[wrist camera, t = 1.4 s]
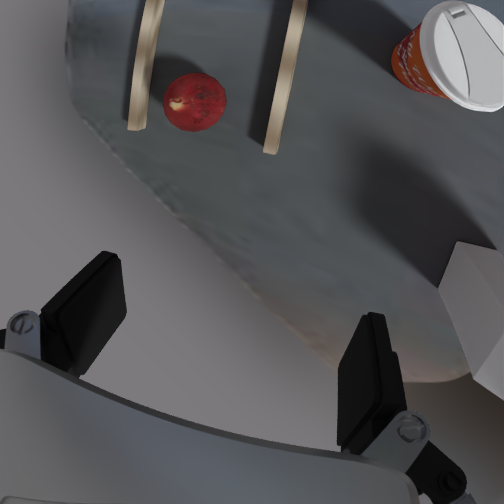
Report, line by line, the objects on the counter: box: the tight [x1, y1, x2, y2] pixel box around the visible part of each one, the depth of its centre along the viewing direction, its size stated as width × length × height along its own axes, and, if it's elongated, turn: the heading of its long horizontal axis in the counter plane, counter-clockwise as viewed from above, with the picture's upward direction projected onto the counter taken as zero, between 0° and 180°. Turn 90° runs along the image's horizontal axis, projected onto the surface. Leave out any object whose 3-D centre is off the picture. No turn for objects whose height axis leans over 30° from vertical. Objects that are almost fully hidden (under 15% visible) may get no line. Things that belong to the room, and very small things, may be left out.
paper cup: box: [391, 1, 504, 112], centre depth 17 cm, size 8×8×14 cm
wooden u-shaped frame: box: [128, 0, 309, 155], centre depth 25 cm, size 21×16×4 cm
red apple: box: [163, 73, 227, 132], centre depth 26 cm, size 6×6×8 cm
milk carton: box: [438, 241, 504, 400], centre depth 24 cm, size 7×7×19 cm
